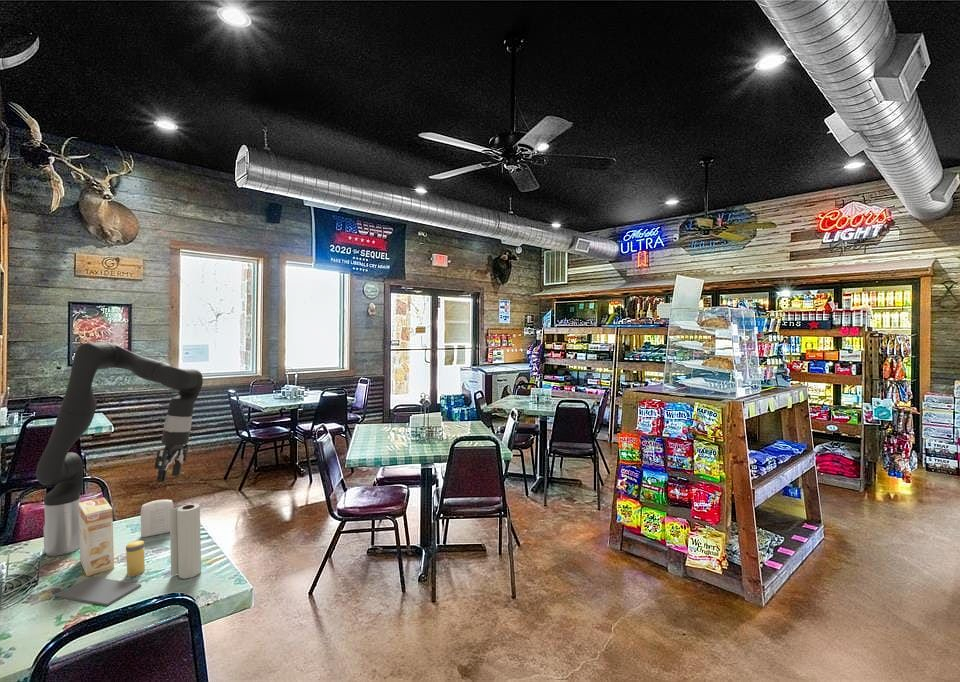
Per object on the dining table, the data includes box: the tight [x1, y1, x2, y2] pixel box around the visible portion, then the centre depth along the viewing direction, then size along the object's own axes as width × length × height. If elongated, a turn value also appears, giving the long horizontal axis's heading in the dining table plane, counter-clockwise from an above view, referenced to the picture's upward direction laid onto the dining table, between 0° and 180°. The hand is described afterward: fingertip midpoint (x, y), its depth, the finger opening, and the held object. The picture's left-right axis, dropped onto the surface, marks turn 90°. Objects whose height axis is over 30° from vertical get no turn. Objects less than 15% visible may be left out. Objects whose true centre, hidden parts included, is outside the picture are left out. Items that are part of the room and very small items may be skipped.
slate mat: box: [54, 575, 142, 607], centre depth 136 cm, size 19×10×1 cm, turn 77°
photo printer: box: [140, 499, 175, 538], centre depth 174 cm, size 10×4×12 cm, turn 123°
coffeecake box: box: [78, 497, 115, 577], centre depth 152 cm, size 15×7×20 cm, turn 47°
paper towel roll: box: [169, 503, 202, 580], centre depth 146 cm, size 7×6×21 cm
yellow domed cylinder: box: [125, 540, 146, 577], centre depth 147 cm, size 5×5×9 cm
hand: (168, 478), depth 153 cm, fingers open, 8 cm apart
